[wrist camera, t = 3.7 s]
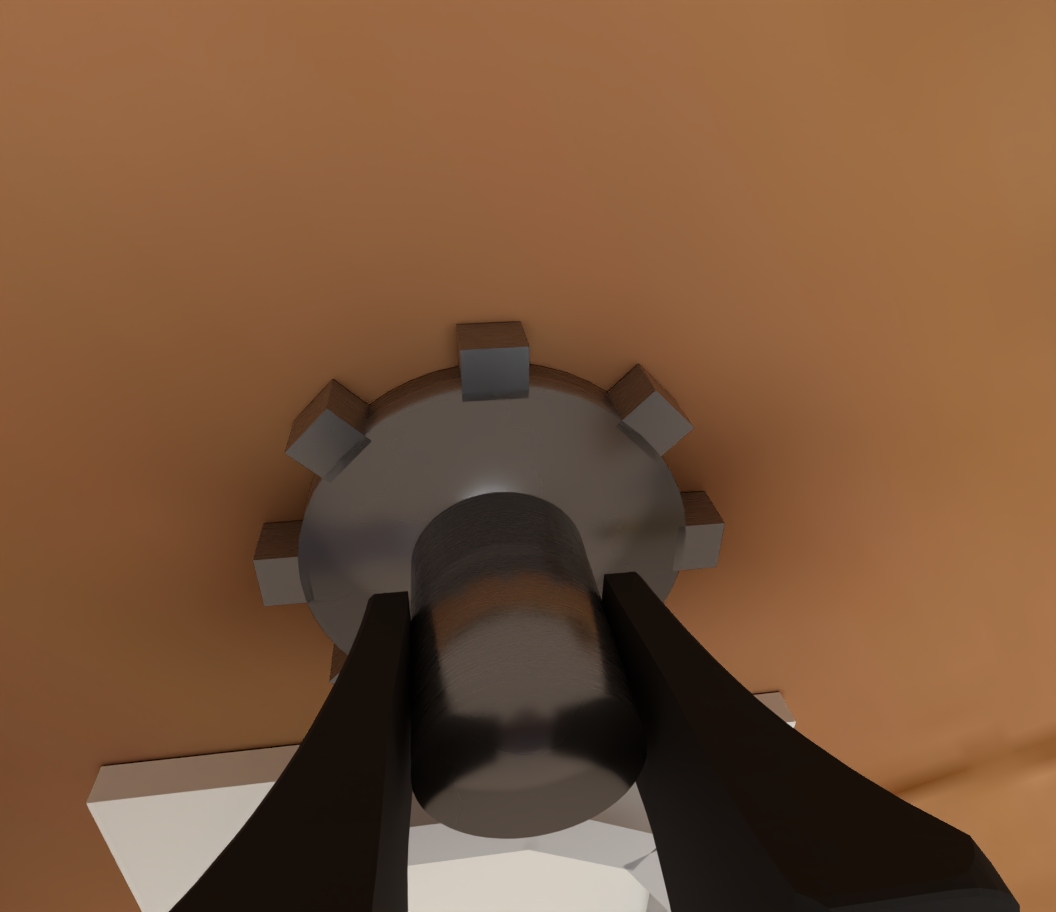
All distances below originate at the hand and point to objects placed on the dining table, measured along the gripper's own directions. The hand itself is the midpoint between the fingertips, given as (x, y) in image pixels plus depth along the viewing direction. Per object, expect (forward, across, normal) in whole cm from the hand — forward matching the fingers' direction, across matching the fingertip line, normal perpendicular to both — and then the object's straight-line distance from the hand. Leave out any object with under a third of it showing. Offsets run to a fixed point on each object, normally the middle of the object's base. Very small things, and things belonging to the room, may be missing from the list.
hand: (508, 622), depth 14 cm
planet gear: (+3, 0, 0) cm, 3 cm away
